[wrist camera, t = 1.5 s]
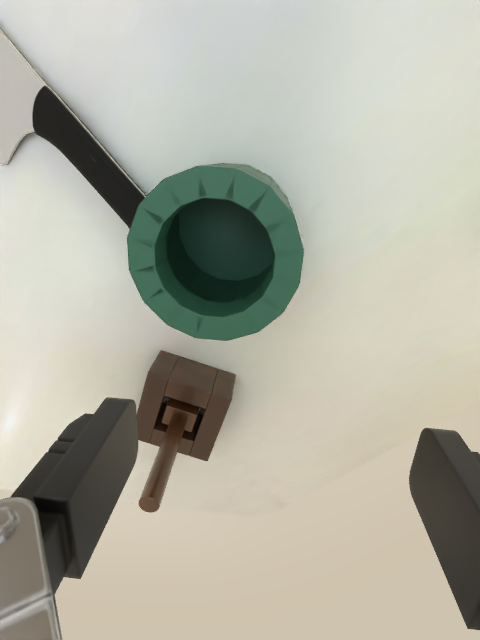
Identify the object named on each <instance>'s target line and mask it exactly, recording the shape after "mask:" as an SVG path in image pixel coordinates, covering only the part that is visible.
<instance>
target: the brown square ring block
mask: <svg viewBox="0 0 480 640" xmlns="http://www.w3.org/2000/svg"><path fill="white" fill-rule="evenodd" d="M235 376H236V375H234V374H231V373H228V372H225V371H222V370H219V369H216V368H213V367H210V366H207V365H204V364H201V363H198V362H195V361H192V360H189V359H186V358H183V357H179V356H177V355H173V354H170V353H167V352H164V351H160V353H159V354H158V356H157V358H156V360H155V361H154V363H153V365H152V366H151V368H150V370H149V372H148V374H147V378H146V382H145V386H144V389H143V393H142V397H141V400H140V404H139V408H138V411H137V431H138V440H140V441H143V442H146V443H150V444H153V445H156V446H159V447H160V446H161V443H162V440H163V438H164V435H165V433H166V430H167V427H168V425H167V424H164V423H162V419H163V416H164V413H165V409H166V406H167V403H165V401H166V398H167V397H170V398H173V399H176V400H179V401H183V402H186V403H189V404H192V405H195V406H198V407H201V408H204V409H203V412H202V414H198V415H197V418H196V421H195V424H194V426H193V429H192V432H189V431H186V430H184V432H183V435H182V438H181V441H180V444H179V447H178V451H177V452H178V453H181V454H185V455H188V456H191V457H195V458H198V459H201V460H204V461H208V459H209V456H210V454H211V451H212V448H213V446H214V443H215V441H216V438H217V436H218V433H219V431H220V428H221V426H222V423H223V420H224V418H225V415H226V413H227V410H228V408H229V405H230V403H231V400H232V395H233V388H234V382H235Z"/></svg>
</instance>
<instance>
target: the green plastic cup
mask: <svg viewBox="0 0 480 640" xmlns="http://www.w3.org/2000/svg"><path fill="white" fill-rule="evenodd" d="M127 244H128V261H129V271H130V274H131V276H132V278H133V280H134V282H135V284H136V287H137V289H138V291H139V293H140V295H141V297H142V300H143V301H144V302H145V304H146V305H148V306H149V307H150V308H151V309H152V310H153V311H154V312H155V313H156V314H157V315H158V316H159V317H160V318H161V319H162V320H163V321H164V322H165V323H166V324H167V325H169V326H171V327H173V328H175V329H177V330H179V331H181V332H184V333H186V334H188V335H190V336H192V337H194V338H200V339H212V340H223V341H227V340H232V339H236V338H239V337H243V336H246V335H250V334H253V333H257V332H259V331H260V330H261V329H263V328H264V327H265V326H267V325H268V324H269V323H271V322H272V321H273V320H275V319H276V318H277V317H279V316H280V315H281V314H282V313H283V312H284V310H285V309H286V307H287V305H288V304H289V302H290V300H291V298H292V297H293V295H294V293H295V292H296V290H297V288H298V286H299V283H300V278H301V270H302V262H303V254H304V249H303V245H302V242H301V238H300V235H299V231H298V228H297V224H296V220H295V217H294V214H293V212H292V209H291V207H290V204H289V202H288V199H287V197H286V196H285V194H284V193H283V192H282V191H281V189H280V188H279V186H278V185H277V184H276V183H275V182H274V181H273V179H272V178H271V177H270V176H268V175H266V174H264V173H262V172H261V171H259V170H257V169H255V168H253V167H251V166H249V165H241V164H225V163H222V164H212V165H202V166H196V167H193V168H191V169H188V170H186V171H183V172H180V173H178V174H175V175H172V176H170V177H167V178H165V179H163V180H162V181H161V182H160V183H159V184H158V185H157V186H156V187H155V188H154V189H153V190H152V191H151V192H150V193H149V194H148V196H147V197H146V198H145V199H144V200H143V201H142V202H141V203H140V204H139V206H138V208H137V211H136V214H135V217H134V219H133V222H132V225H131V228H130V231H129V233H128V237H127Z"/></svg>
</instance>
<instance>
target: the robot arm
mask: <svg viewBox="0 0 480 640" xmlns="http://www.w3.org/2000/svg"><path fill="white" fill-rule="evenodd" d="M137 452H138V431H137V415H136V404H135V401H134V400H130V399H119V398H106V399H105V400H104V401H103V402H102V404H101V405H100V406H99V408H98V409H97V411H96V412H95V413H94V414H84V415H82V416H81V417H79V418H78V419H76V420H75V421H73V422H72V423H70V424H69V425H68V426H67V427H66V429H65V430H64V431H63V432H62V434H61V435H60V436H59V437H58V440H57V441H55V442H54V444H53V445H52V446H51V447H50V449H49V451H48V452H46V453H45V455H44V456H43V457H42V458H41V460H40V461H39V462H38V463H37V465H36V466H35V467H34V468H33V470H32V471H31V472H30V473H29V475H28V476H27V477H26V478H25V480H24V481H23V482H22V483H21V485H20V486H19V487H18V488H17V489H16V491H15V492H14V493H13V494H12V496H11V497H10V498H5V499H1V500H0V640H62V634H61V629H60V623H59V617H58V611H57V606H56V600H55V593H56V590H57V589H58V587H59V585H60V583H61V581H62V579H63V577H69V578H77V579H81V577H82V574H83V572H84V570H85V568H86V566H87V564H88V562H89V560H90V558H91V555H92V553H93V551H94V549H95V547H96V545H97V542H98V541H99V539H100V536H101V534H102V532H103V530H104V528H105V526H106V524H107V522H108V519H109V518H110V515H111V513H112V511H113V509H114V507H115V505H116V503H117V501H118V499H119V496H120V494H121V492H122V490H123V488H124V486H125V484H126V482H127V480H128V477H129V475H130V473H131V471H132V469H133V467H134V464H135V461H136V458H137ZM409 484H410V491H411V495H412V498H413V500H414V502H415V505H416V507H417V509H418V512H419V514H420V517H421V519H422V521H423V524H424V526H425V528H426V531H427V533H428V536H429V538H430V540H431V543H432V545H433V547H434V550H435V552H436V555H437V557H438V559H439V562H440V564H441V566H442V569H443V571H444V574H445V576H446V578H447V581H448V583H449V585H450V588H451V590H452V593H453V595H454V597H455V600H456V602H457V604H458V607H459V609H460V612H461V614H462V616H463V619H464V621H465V623H466V626H467V628H468V629H475V630H480V454H479V453H478V452H471V451H470V449H469V448H468V446H467V445H466V444H465V442H464V441H463V439H462V438H461V436H460V435H459V434H458V433H457V432H456V431H453V430H442V429H431V428H425V429H423V430H422V432H421V435H420V438H419V441H418V445H417V449H416V452H415V456H414V459H413V463H412V466H411V470H410V475H409Z"/></svg>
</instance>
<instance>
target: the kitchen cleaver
mask: <svg viewBox="0 0 480 640" xmlns="http://www.w3.org/2000/svg"><path fill="white" fill-rule="evenodd" d="M32 132H35V133H36V134H38V135H39V136H41V137H43V138H45V139H46V140H48V141H49V142H50V143H52V144H53V145H54V146H55V147H57V148H58V149H59V150H60V151H61V152H62V153H63V154H64V155H65V156H66V157H67V158H68V159H69V160H70V162H71V163H72V164H73V165H74V166H75V167H76V168H77V169H78V170H79V171H80V173H81V174H82V175H83V176H84V177H85V178H86V179H87V180H88V182H89V183H90V184H91V185H92V186H93V187H94V188H95V189H96V190H97V192H98V193H99V194H100V195H101V196H102V197H103V198H104V199H105V201H106V202H107V203H108V204H109V205H110V206H111V207H112V209H113V210H114V211H115V212H116V213H117V214H118V215H119V216H120V218H121V219H122V220H123V221H124V222H125V223H126V225H127V226H128V227H129V228H131V225H132V222H133V219H134V217H135V214H136V211H137V208H138V206H139V204H140V203H141V202H142V201H143V200H144V199H145V198H146V197H147V196H146V195H145V194H144V193H143V192H142V190H141V189H140V188H139V187H138V186H137V185H136V184H135V183H134V181H133V180H132V179H131V178H130V177H129V176H128V175H127V174H126V172H125V171H124V170H123V169H122V168H121V167H120V166H119V164H118V163H117V162H116V161H115V160H114V159H113V157H112V156H111V155H110V154H109V153H108V152H107V150H106V149H105V148H104V147H103V146H102V145H101V143H100V142H99V141H98V140H97V139H96V138H95V136H94V135H93V134H92V133H91V132H90V131H89V130H88V128H87V127H86V126H85V125H84V124H83V123H82V122H81V120H80V119H79V118H78V117H77V116H76V115H75V114H74V112H73V111H72V110H71V109H70V108H69V107H68V106H67V105H66V103H65V102H64V101H63V100H62V99H61V98H60V97H59V96H58V95H57V94H56V93H55V92H54V91H53V90H52V89H51V88H50V87H49V86H47V85H46V83H45V82H44V81H43V80H42V78H41V77H40V76H39V75H38V74H37V72H36V71H35V70H34V69H33V68H32V66H31V65H30V64H29V63H28V62H27V60H26V59H25V58H24V57H23V56H22V54H21V53H20V52H19V51H18V50H17V48H16V47H15V46H14V45H13V44H12V42H11V41H10V40H9V39H8V38H7V36H6V35H5V34H4V33H3V31H2V30H1V29H0V164H2V165H6V164H8V162H9V161H10V159H11V157H12V155H13V153H14V151H15V150H16V148H17V146H18V144H19V143H20V141H21V140H22V139H23V138H24V137H25V136H26V135H27V134H29V133H32Z"/></svg>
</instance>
